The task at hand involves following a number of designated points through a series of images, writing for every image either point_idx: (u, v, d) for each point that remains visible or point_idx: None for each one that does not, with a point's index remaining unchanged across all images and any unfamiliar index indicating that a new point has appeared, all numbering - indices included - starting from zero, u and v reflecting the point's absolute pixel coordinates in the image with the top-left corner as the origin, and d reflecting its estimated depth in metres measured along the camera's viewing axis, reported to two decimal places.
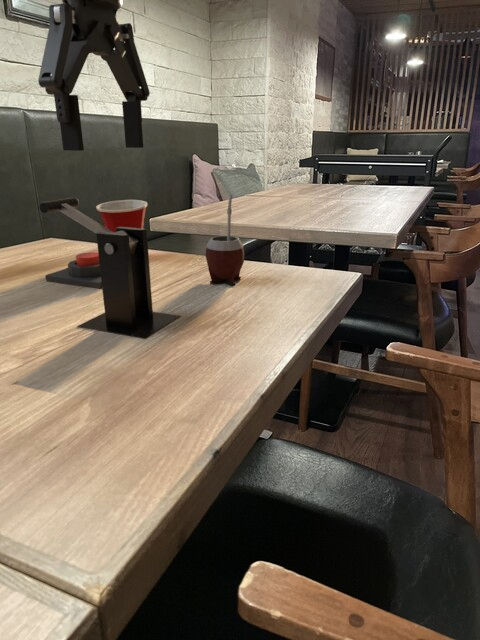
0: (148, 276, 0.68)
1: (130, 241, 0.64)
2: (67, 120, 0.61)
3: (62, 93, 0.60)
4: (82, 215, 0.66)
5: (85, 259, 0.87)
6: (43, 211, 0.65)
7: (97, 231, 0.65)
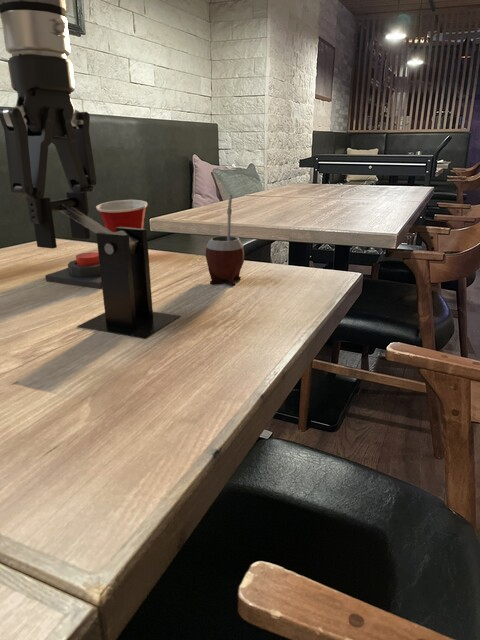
0: (148, 276, 0.68)
1: (130, 241, 0.64)
2: (40, 222, 0.63)
3: (34, 198, 0.62)
4: (82, 215, 0.66)
5: (85, 259, 0.87)
6: None
7: (97, 231, 0.65)
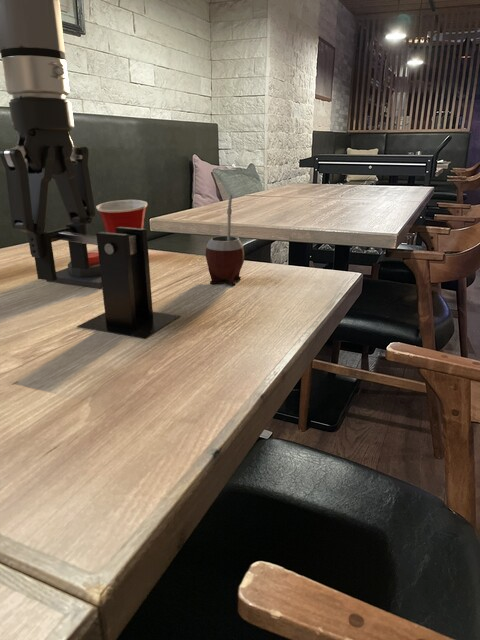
0: (148, 276, 0.68)
1: None
2: (40, 256, 0.65)
3: (35, 234, 0.64)
4: (79, 234, 0.67)
5: None
6: None
7: (96, 242, 0.66)
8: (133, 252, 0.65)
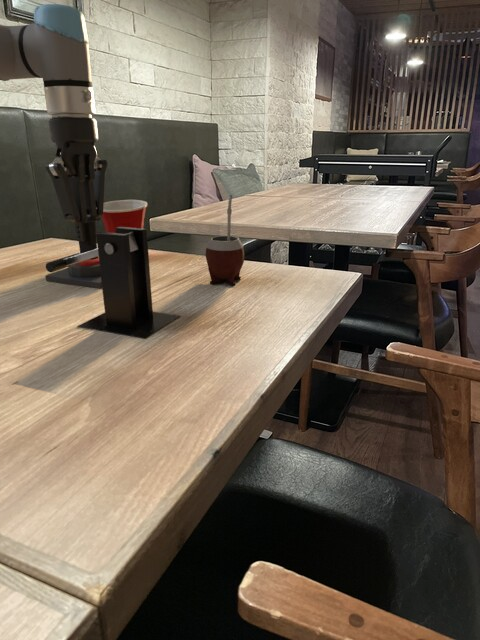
0: (148, 276, 0.68)
1: None
2: (84, 240, 0.86)
3: (80, 223, 0.85)
4: (83, 253, 0.68)
5: (86, 264, 0.87)
6: (51, 270, 0.68)
7: None
8: (134, 248, 0.65)
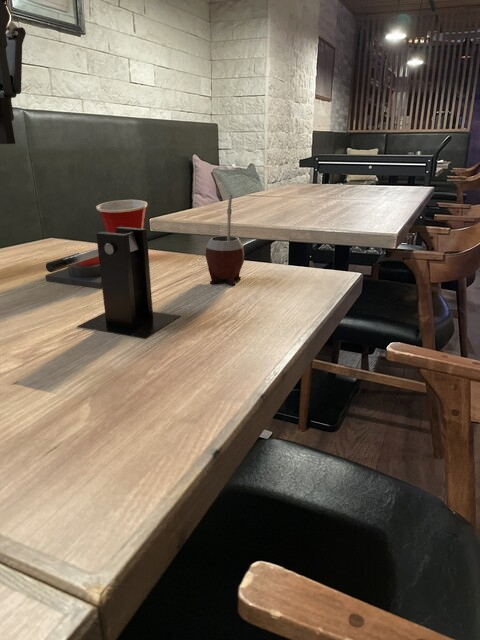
0: (148, 276, 0.68)
1: None
2: None
3: None
4: (83, 253, 0.68)
5: None
6: (51, 270, 0.68)
7: None
8: (134, 248, 0.65)
